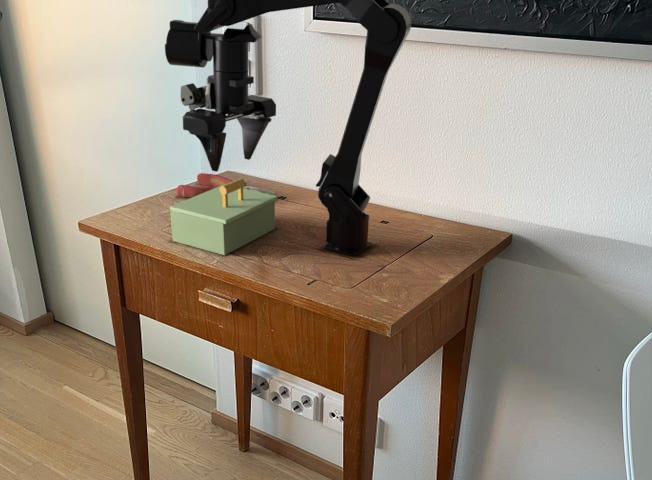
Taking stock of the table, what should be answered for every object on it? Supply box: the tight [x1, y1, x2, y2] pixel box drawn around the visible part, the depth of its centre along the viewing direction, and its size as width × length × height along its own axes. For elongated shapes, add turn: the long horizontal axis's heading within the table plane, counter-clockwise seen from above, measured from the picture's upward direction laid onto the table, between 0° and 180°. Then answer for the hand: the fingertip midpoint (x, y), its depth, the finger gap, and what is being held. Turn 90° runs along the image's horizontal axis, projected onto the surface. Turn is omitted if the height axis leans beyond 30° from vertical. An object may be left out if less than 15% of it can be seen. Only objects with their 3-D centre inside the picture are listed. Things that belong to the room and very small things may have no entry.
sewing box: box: [169, 201, 276, 256], centre depth 133 cm, size 12×15×6 cm
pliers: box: [176, 172, 277, 199], centre depth 154 cm, size 12×20×3 cm, turn 68°
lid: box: [169, 178, 278, 224], centre depth 131 cm, size 12×15×4 cm
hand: (231, 164), depth 127 cm, fingers open, 9 cm apart
